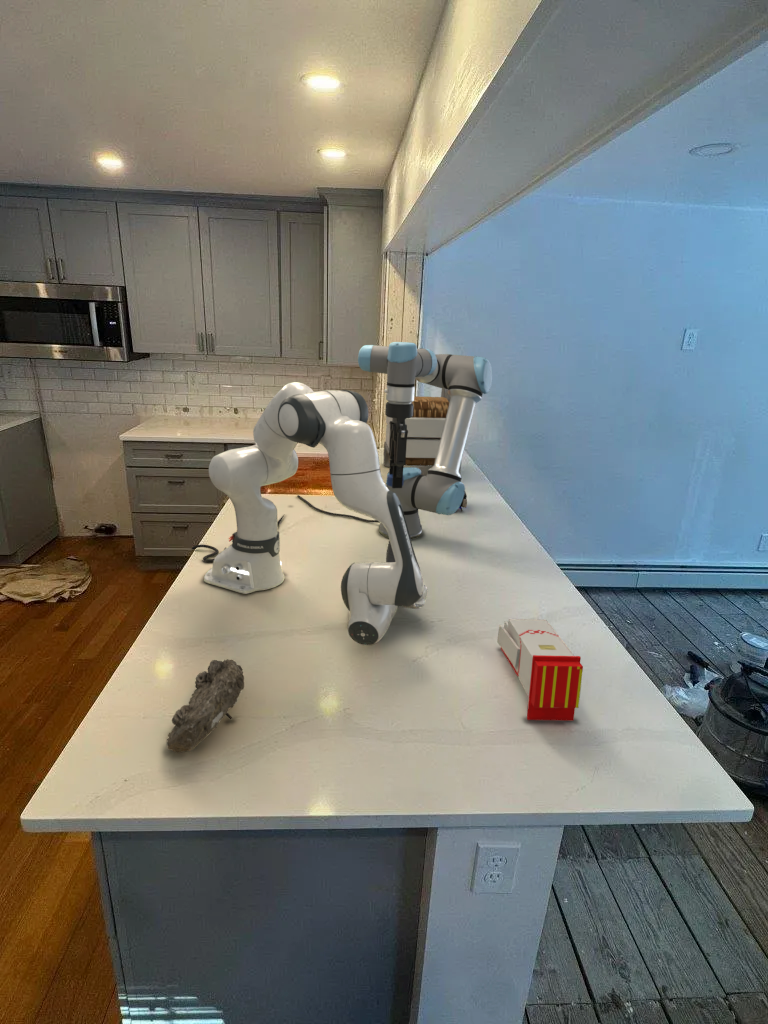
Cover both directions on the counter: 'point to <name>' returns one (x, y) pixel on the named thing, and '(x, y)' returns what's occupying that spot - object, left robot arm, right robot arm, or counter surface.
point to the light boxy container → (422, 430)
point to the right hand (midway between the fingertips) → (395, 484)
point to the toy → (542, 668)
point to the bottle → (389, 554)
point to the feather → (280, 520)
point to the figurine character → (463, 502)
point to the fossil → (206, 705)
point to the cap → (389, 480)
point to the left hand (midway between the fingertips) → (394, 577)
